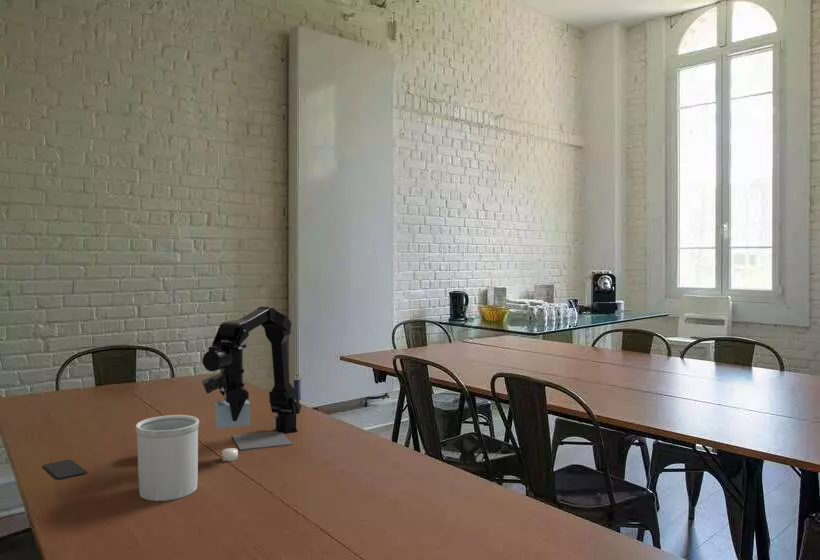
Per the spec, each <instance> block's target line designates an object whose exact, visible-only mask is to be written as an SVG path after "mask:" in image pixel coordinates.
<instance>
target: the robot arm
mask: <svg viewBox="0 0 820 560" xmlns="http://www.w3.org/2000/svg"><path fill="white" fill-rule="evenodd" d="M260 326H261V327H262V328H263V329H264V333H265V337H266V338H267V340H268V342H270V345H271V347H270V348H271V355H272V356H271V358H272V368H273V369H272V371H273V383H274V385H273V387H272V389H271V390H270V391H269V393H268V396H269V404H270V409H271V413H273V414H275V416H274V430H275V431H278V432H279V433H280V432H283V434H285V433H294V432H298V428H297V415H299V414H300V413H301V410H302V405H301V403H300V401H298V400H297V398H296V395H295V390H294V386H292V384H291V383H290V373H289V372H290V371H289V360H288V359H289V358H288V347H287V341H288V339H289V337H290V335H291V328H292V322H291V319H290V318H289V317H287V315H285V314H283V313H281V312H279V311H277V310H276V309H275V307H272V306H260V307H257V308H256V309H255V310H253V311H251V312H250V313H248V314H246V315H244V316H243V317H241V318H239V319H233V320H227V321H224V322H222V323H220V324H219V327H218V329H217V331H216V334H215V337H214V339H213V341H212V344H211V345H210V346H209V347H208V351H206V352H204V355H203V357H202V365H203V367H204V368H205V369H206V371H208V372H216V371H220V373H218V374H215V375H212V376H210V377H208V378H205V379H203V380H202V381H201V383H202V385H203V389H204V391H205V392H206V394H210V393H212V392H214V391H215V390H218V391H219V393H220V395H222V396H223V398H224V400H225V401H226V402H227V403H229V404H230V409H231V415H232V420H233V421H237V419H238V417H239V414H240V412H241V410H242V407H243V405H244V403H245V401H246V400H249V398H250V397H249V395H250V394H249V391H248V390H247V389H246V387H245V383H244V375H243V374H244V373H245V369H244V368H243V367H244V365H243V364H244V360H243V359H244V356H243V355H244V354H243V353H244V351H243V350H244V349H246V348H247V345H246V344H245V343H244V341H245V340H246V339H247V338H248V337H249V336H250V332H251V331H253V330H254V329H256V328H258V327H260Z"/></svg>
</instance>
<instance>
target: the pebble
mask: <svg viewBox="0 0 820 560" xmlns="http://www.w3.org/2000/svg"><path fill="white" fill-rule="evenodd" d="M238 456H239V448H235V447H229V448H224V449H222V452H221V461H223V462H234V461H237V460H238V459H239V457H238Z"/></svg>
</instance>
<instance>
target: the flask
mask: <svg viewBox="0 0 820 560" xmlns="http://www.w3.org/2000/svg"><path fill="white" fill-rule="evenodd" d="M301 383H302V377H301V376H300V373H295V375H294V376H293V388H294V390H295V395H296V398H297V400H298V401H299V402H300V401H301V400H302V396H301V395H302V392H301V391H302V388H301V386H302V384H301Z"/></svg>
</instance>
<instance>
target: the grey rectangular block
mask: <svg viewBox="0 0 820 560" xmlns="http://www.w3.org/2000/svg"><path fill="white" fill-rule="evenodd" d="M214 406H215V407H214V409H215V413H214V415H215V418H214V419H215V425H216V427H217V428H218V429H219V430H221V429H229V428H237V427H238V428H239V427H247V426H251V402H250V401H249V399H247V400H246V401H245V403H244V405H243V407H242V410H241V412H240V414H239V417H238V419H237V421H233V420H232V415H231V409H230V404H229V403H227V402H226V401H225V399H224V400H217V401H215V405H214Z"/></svg>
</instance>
